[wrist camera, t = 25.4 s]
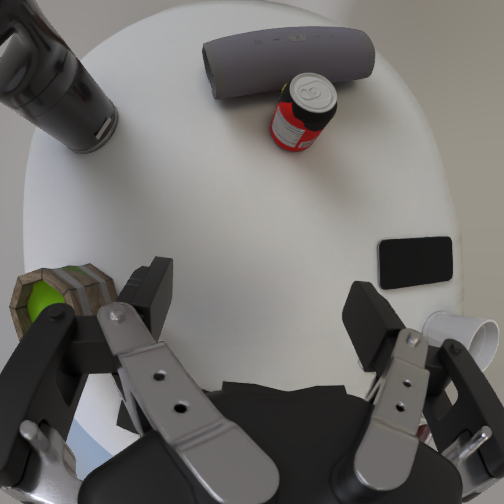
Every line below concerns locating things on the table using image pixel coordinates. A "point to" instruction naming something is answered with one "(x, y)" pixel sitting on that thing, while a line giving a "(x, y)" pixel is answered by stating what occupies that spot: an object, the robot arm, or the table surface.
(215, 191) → the table surface
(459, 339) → the cup
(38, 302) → the mug
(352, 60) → the bluetooth speaker
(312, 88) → the beverage can
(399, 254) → the smartphone
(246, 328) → the table surface
